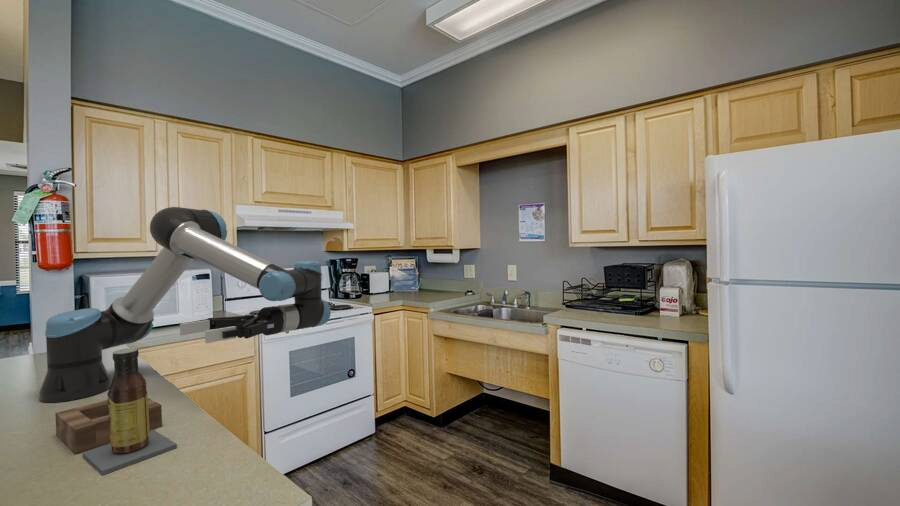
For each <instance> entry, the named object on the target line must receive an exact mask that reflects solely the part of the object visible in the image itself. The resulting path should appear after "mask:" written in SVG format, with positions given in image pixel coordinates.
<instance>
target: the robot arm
mask: <svg viewBox="0 0 900 506" xmlns="http://www.w3.org/2000/svg"><path fill="white" fill-rule="evenodd" d="M149 232H150V235H151V237H152V238H153V240H154V241H155V242H156V243H157V244H158V245H159V246H161V247H163V248H162V249H161V250H160V252H159V253H158V254H157V255H156V257H154V259H153V260H152V261H151V263H150V264H149V265H148V267H147V268H146V269H145V270H144V272H143V273H142V274H141V275H140V276H139V278H138V279H137V280H136V282H135V283H134V284H133V285H132V287H131V288H130V289H129V291H128V292H126V294H125V296H120V297H118V298H115V299H114V300H113V302H112V303H111V304H110V306H109V307H108V308H107V309H106V310H102V311H101V310H100V309H98V308H94V307H92V308H91V307H90V308H89V307H88V308H80V309H75V310H68V311H65V312H62V313H58V314H55V315H52V316H51V317H50V318H48V320H47V321H46V322H45V333H44V336H45V340H46V342H45V343H46V364H47V365H46V366H47V371H46V374H45V376H44V379H43V382H42V384H41V387H40V389H39V401H40V402H42V403H59V402H68V401H74V400H79V399H83V398H88V397H92V396H95V395H98V394H100V393H103V392H106V391H107V390H109V388H110V385H111V382H112V380H111V378H110V375H109V373H108V371H107V369H106V366H105V365H104V362H103V351H104V350H107V349H110V348H115V347H119V346H125V345H128V344H133V343H136V342H137V341H139V340H142V339H144V338H146V337H147V336H149V334H150V333H151V332H152V329H153V327H154V323H153V322H154V319H155V318H154V316H155V313H154V309H155V308H156V307H157V305H158V304H159V303H160V302H161V301H162V299H164V297H165V296H166V294H167V293H168V292H169V291H170V290H171V288H172V287H173V286H174V284H175V283H176V282H177V281H178V280H179V278H180V277H181V276H182V275H183V273H184V272H185V271H186V269H188V267H189V266H190V265H191V264H192V262H193V261H195V260H196V261H200V262H202V263H203V264H206V265H208V266H211V267H213V268H215V269H216V270H218V271H221V272H223V273H224V274H226V275H229V276H231V277H232V278H235V279H237V280H239V281H241V282H244V283H246V284H247V285H250V286H252V287H253V288H255V289H258V290H259V292H260V294H261V296H262V297H263V299H265V300H267V301H269V302H282V301H286V300H289V299H292V298H293V299H294V303H287V304H281V305H276V306H275V305H274V306H273V305H272V306H265V307H262V308H261V309H260V310H259V311H258V314H257V315H255V314H245V315H237V316H223V317H209V318H206V319H205V320H198V321H192V322H190V321H189V322H183V323H179V335H180V336H185V335H190V334H191V335H193V334H198V333H204V342H205V344H210V343H216V342H221V341H226V340H227V341H228V340H232V339H237V338H239V339H241V338H242V339H243V338H244V339H250V338H252V337H256V336H259V335H261V334H262V335H263V336H271V335H277V334H279V333H285V334H289V333H290V331H291V332H292V331H296V330H297V331H298V330H303V329H308V328H315V327H318V326H322V325H325V324H326V323H328V322H329V320H330V318H331V309H330V304H329V303H328V302H327V301H326V300H324V299H322V275H323V274H322V266H321V263H320V262H319V261H315V260H314V261H313V260H312V261H311V260H309V261H308V260H305V261H296V262H295V263H294V264H293V269H285V268H283V267H280V266H279V265H276V264H275V263H274V262H273V263H272V262H271V261H268V260H266V259H264V258H262V257H260V256H258V255H255V254H253V253H251V252H249V251H248V250H245V249H243V248H241V247H239V246H237V245H235V244H233V243H230V242H229V241H226V239H227V237H228V230H227V224H226V221H225V220H224V217H222V216H221V215H220V213H218V212H216V211H213V210H209V209H205V208H204V209H195V208H189V207H181V206H171V207H166V208H163V209H161V210H158V212H157V213H154V215H153V217H152V218H151V220H150V223H149Z"/></svg>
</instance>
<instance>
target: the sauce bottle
mask: <svg viewBox="0 0 900 506" xmlns="http://www.w3.org/2000/svg"><path fill="white" fill-rule="evenodd" d="M139 352H140V351H139V349H138V348H137V347H129V348H124V349H123V348H122V349H118V350H114V351H113V352H112V360H113V362H114V363H113V365H114V372H113V374H114V375H113V377H112V380H111V385H110V388H109V389H108V392H107V400H108V410H109V427H110V443H109V444H111V447H112V451H113V452H114V453H119V454H121V453H128V452H134V451H137V450H138V449H140V448H142V447H144V446H146V445H147V444H148V443H149V434H150V431H151V430H149V412H148V398H149V396H148V390H147V388H148V387H147V380H146V378H145V377H144V376H143V374H141V373H140V370H139V369H140V368H139V363H138V362H139V360H138V359H139Z"/></svg>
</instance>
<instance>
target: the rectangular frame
mask: <svg viewBox="0 0 900 506" xmlns="http://www.w3.org/2000/svg"><path fill="white" fill-rule="evenodd" d="M148 412H149V430H150V431H151V430H155V428H156V429H158V427H159V428H161V426H162V427H163V415H162V404H161V403H159V402H156V401H155V400H153V399H151V398H149V397H148ZM55 436H56V437H57V438H58V439H59V440H61V441H62V443H63V444H64V445H66V447H67V448H68V449H70V450H71V451H72V452H73V453H74V454H75V455H78V454H82V453H83V452H86V451H89V450H93V449H96V448H99V447H102V446H105V445H108V444H110V427H109V410H108V399H105V400H102V401H97V402H93V403H90V404H86V405H83V406H78V407H74V408H70V409H66V410H61V411H59V412H58V411H57V412H55Z"/></svg>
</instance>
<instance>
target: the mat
mask: <svg viewBox="0 0 900 506" xmlns="http://www.w3.org/2000/svg"><path fill="white" fill-rule="evenodd" d="M177 448H178V444H177V443H176V442H175V441H172V440H171V439H170V438H168V437H166V436H165V435H163V434H161V433H160V432H158V431H156V430H155V429H152V430H150V434H149V443H148V444H147V445H146V446H144V447H142V448H140V449H138V450H137V451H134V452H128V453H121V454H119V453H114V452H113V451H112V447H111V444H110V443H109V444H106V445H103V446H100V447H97V448H94V449H91V450H88V451H84V452H82V458H83V459H84V460H86V462H88V464H89V465H91V467H93V468H94V469H95V470H96V471H97V472H98V473H99V474H100V475H101V476H104V475H105V476H106V475H107V474H110V473H113V472H116V471H118V470H121V469H123V468H126V467H129V466H131V465H134V464H137V463H139V462H143V461H145V460H148V459H151V458H153V457H156V456H158V455H161V454H165V453H166V452H169V451H172V450H176V449H177Z"/></svg>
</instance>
